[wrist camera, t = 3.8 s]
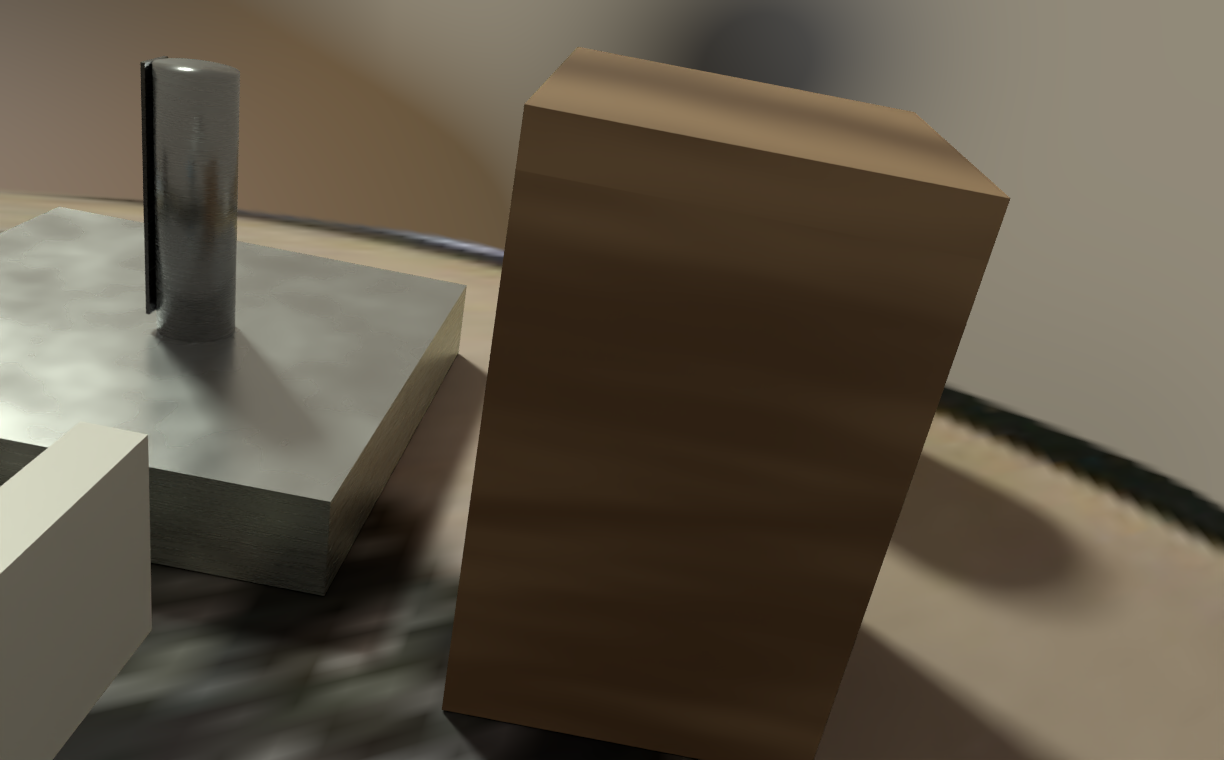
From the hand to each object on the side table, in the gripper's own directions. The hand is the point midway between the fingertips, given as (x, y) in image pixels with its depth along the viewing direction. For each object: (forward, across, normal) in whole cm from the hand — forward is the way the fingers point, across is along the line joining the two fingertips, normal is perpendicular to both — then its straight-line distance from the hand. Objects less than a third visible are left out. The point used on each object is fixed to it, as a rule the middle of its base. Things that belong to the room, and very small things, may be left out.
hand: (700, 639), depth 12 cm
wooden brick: (+10, 0, -8) cm, 12 cm away
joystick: (+16, -14, -8) cm, 22 cm away
